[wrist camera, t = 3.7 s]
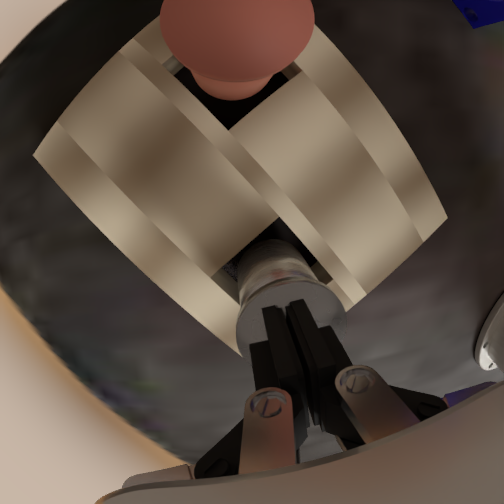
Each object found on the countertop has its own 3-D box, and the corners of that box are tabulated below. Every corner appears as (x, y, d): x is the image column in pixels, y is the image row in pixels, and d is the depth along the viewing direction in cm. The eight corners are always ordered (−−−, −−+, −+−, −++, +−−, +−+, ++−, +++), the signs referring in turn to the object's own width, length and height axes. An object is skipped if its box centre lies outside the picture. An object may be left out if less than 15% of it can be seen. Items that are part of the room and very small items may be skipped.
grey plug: (324, 272, 18) (365, 330, 12) (267, 318, 19) (284, 389, 13) (276, 217, 17) (304, 259, 11) (215, 270, 17) (211, 334, 11)
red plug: (298, 68, 13) (343, 26, 7) (228, 124, 14) (230, 109, 8) (236, 9, 11) (244, -59, 6) (166, 63, 12) (130, 16, 6)
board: (423, 207, 19) (447, 217, 16) (259, 346, 22) (264, 373, 19) (239, -16, 13) (241, -39, 10) (57, 152, 16) (32, 155, 13)
